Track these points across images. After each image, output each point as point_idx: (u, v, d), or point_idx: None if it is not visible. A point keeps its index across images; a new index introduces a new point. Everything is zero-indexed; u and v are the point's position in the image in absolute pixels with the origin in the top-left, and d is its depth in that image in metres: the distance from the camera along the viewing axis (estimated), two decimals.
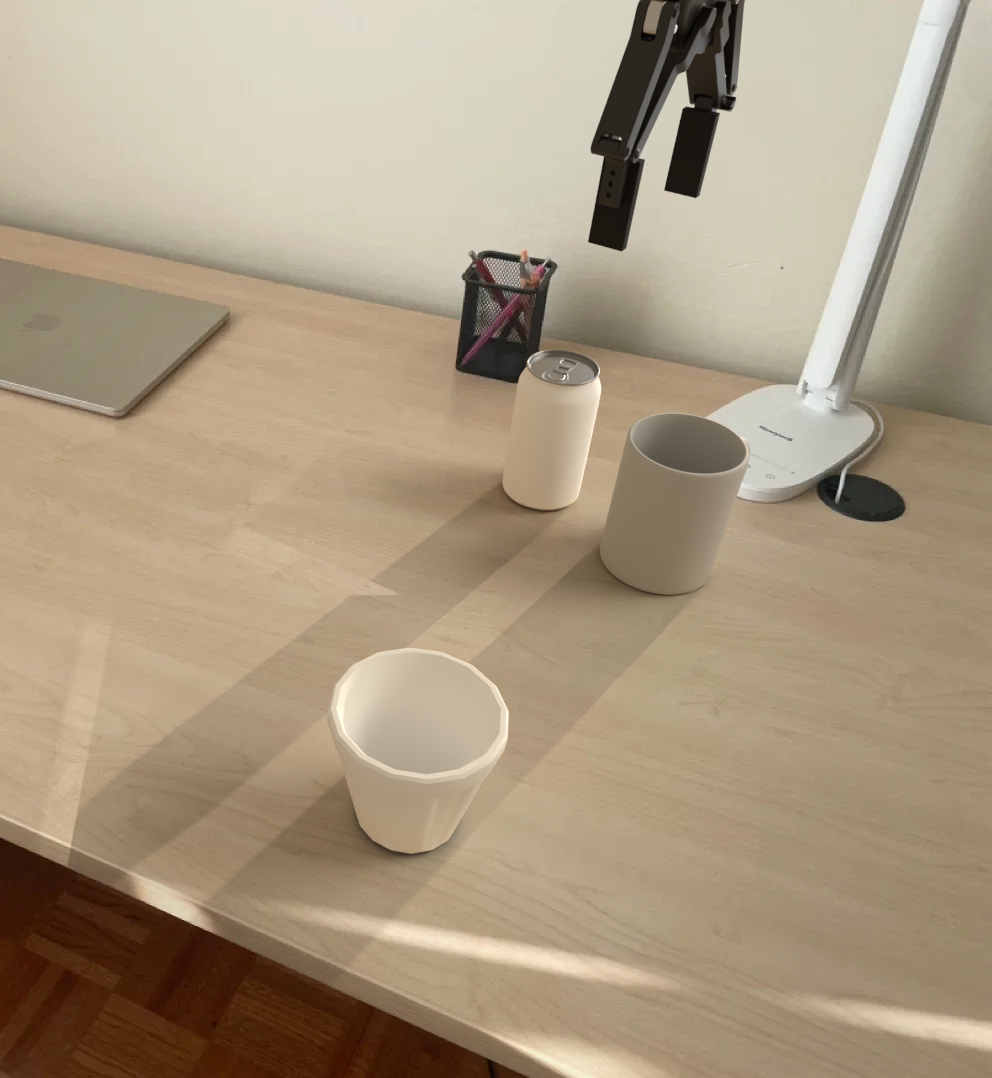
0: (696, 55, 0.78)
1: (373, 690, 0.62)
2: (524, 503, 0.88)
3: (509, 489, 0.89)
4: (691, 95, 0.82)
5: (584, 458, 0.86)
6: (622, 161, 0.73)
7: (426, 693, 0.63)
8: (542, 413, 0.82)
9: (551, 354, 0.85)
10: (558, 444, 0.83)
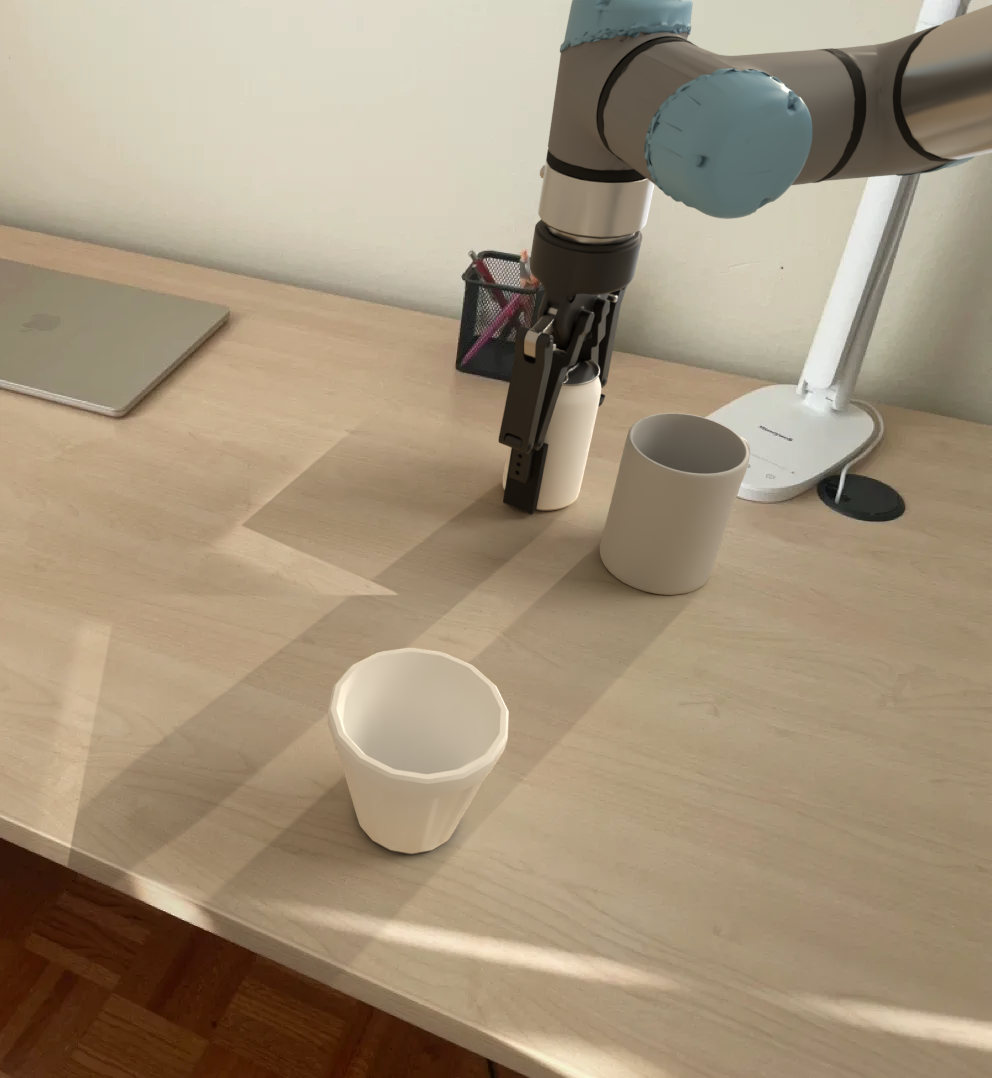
0: None
1: (373, 690, 0.62)
2: None
3: None
4: None
5: (584, 458, 0.86)
6: None
7: (426, 693, 0.63)
8: None
9: None
10: (558, 444, 0.83)
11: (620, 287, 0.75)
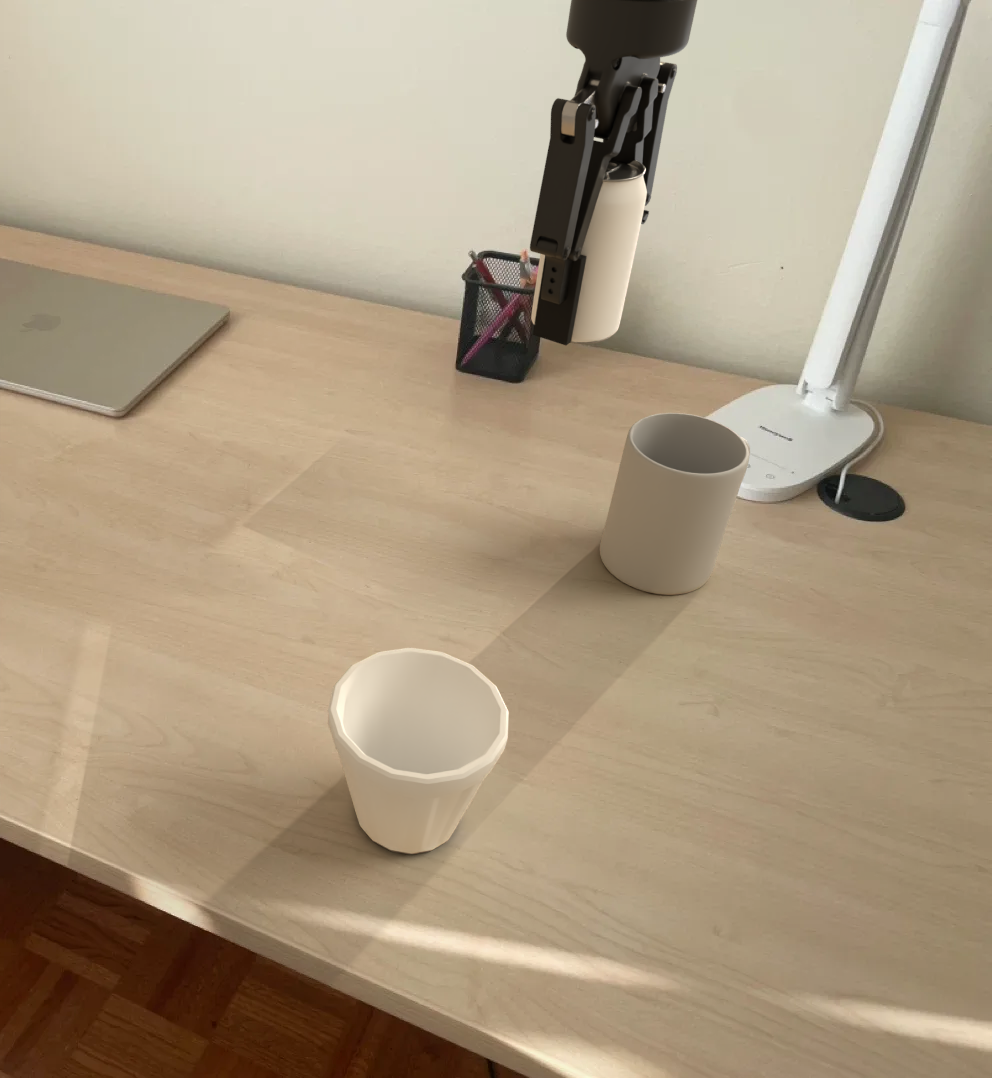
0: None
1: (373, 690, 0.62)
2: None
3: None
4: None
5: (626, 278, 0.75)
6: (562, 259, 0.71)
7: (426, 693, 0.63)
8: None
9: None
10: (597, 257, 0.73)
11: (673, 49, 0.65)
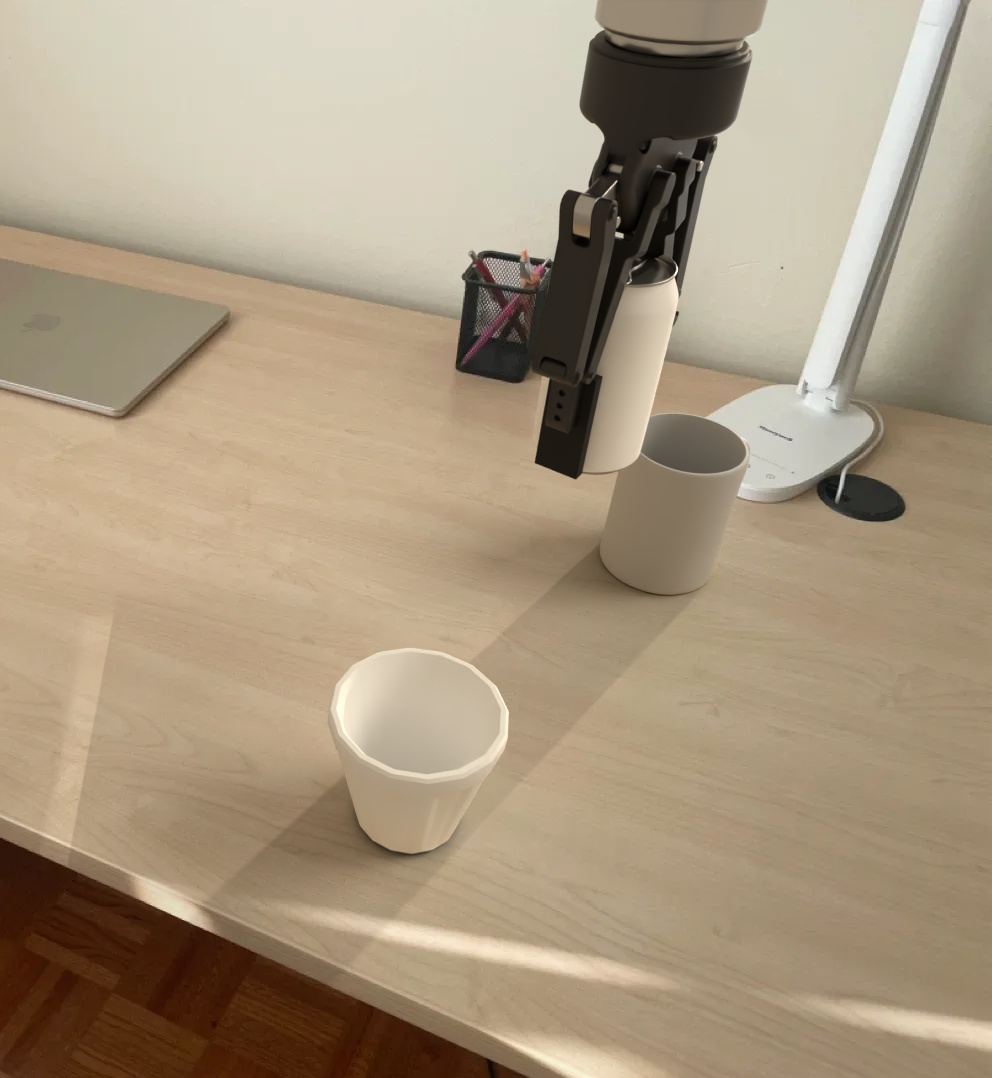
0: None
1: (373, 690, 0.62)
2: None
3: None
4: None
5: (651, 398, 0.60)
6: None
7: (426, 693, 0.63)
8: None
9: None
10: (616, 376, 0.58)
11: (719, 129, 0.50)
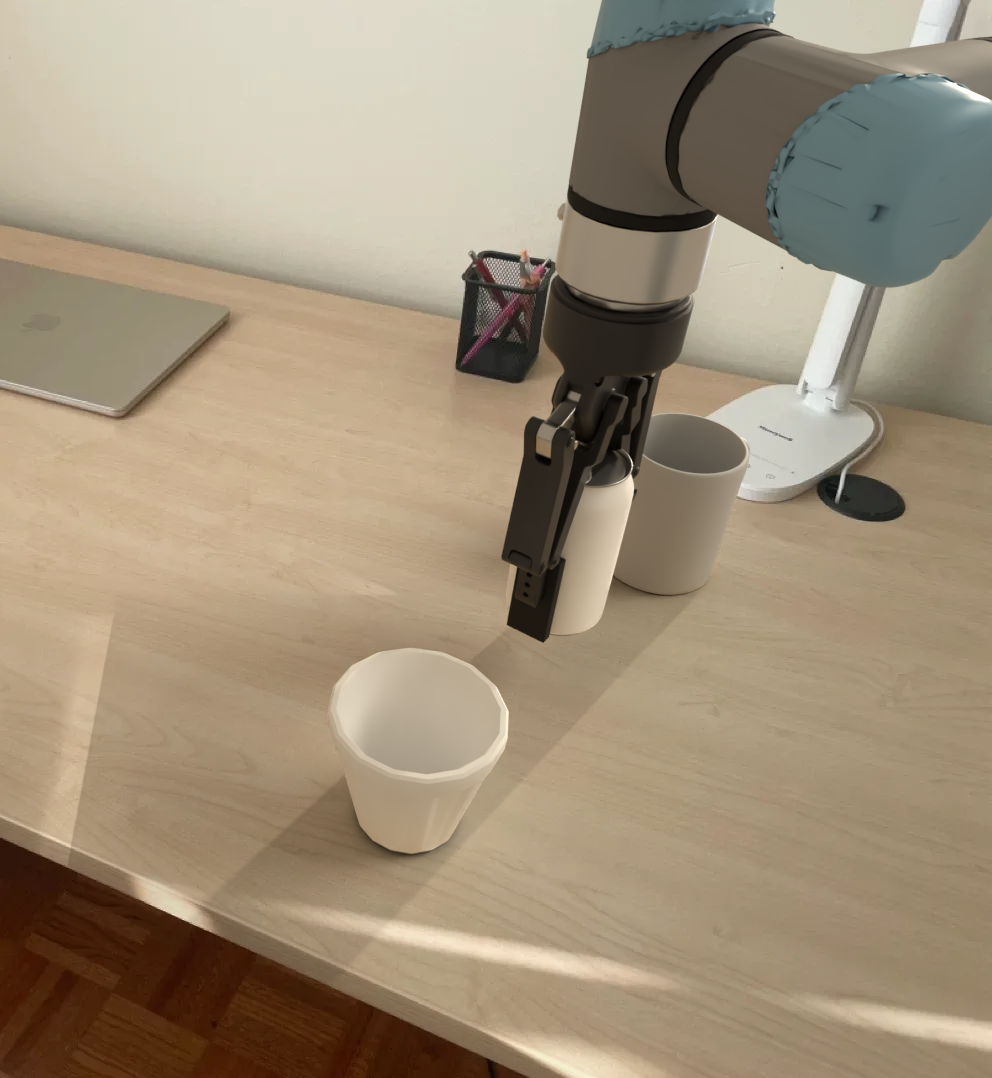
0: None
1: (373, 690, 0.62)
2: None
3: None
4: None
5: (611, 573, 0.67)
6: None
7: (426, 693, 0.63)
8: None
9: None
10: (578, 559, 0.64)
11: (665, 367, 0.56)
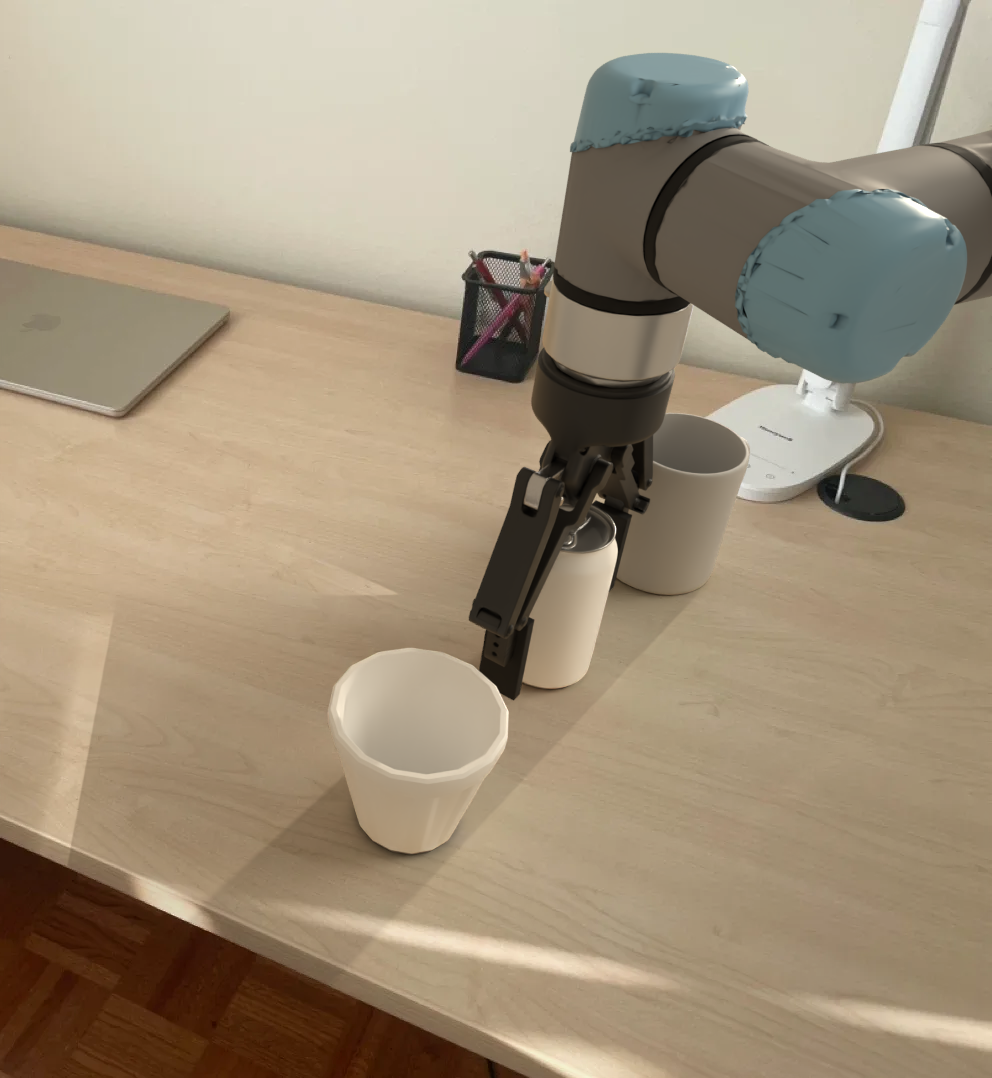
0: None
1: (373, 690, 0.62)
2: (523, 680, 0.72)
3: None
4: (600, 493, 0.72)
5: (596, 630, 0.70)
6: None
7: (426, 693, 0.63)
8: (544, 584, 0.66)
9: None
10: (564, 619, 0.68)
11: (647, 437, 0.59)
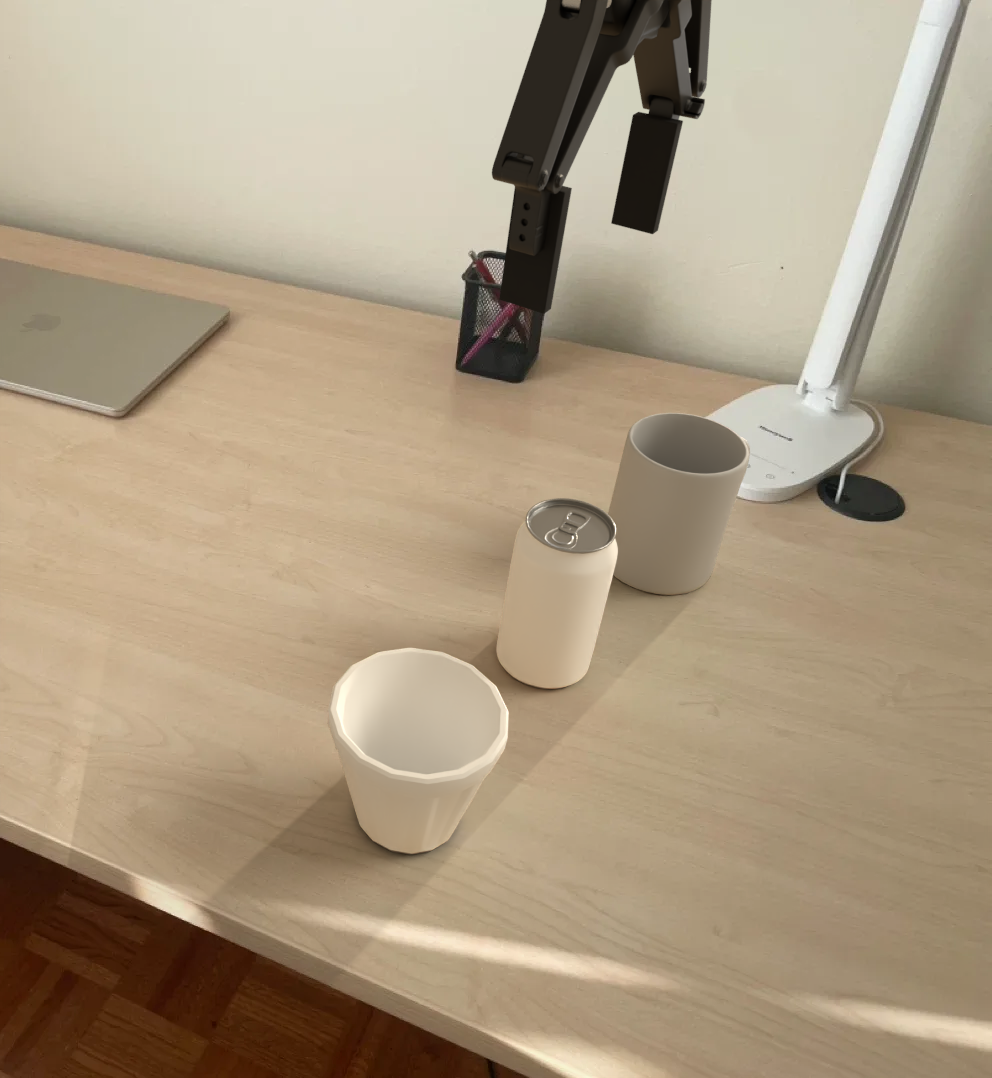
0: (647, 41, 0.56)
1: (373, 690, 0.62)
2: (523, 680, 0.72)
3: (504, 661, 0.73)
4: (644, 97, 0.61)
5: (596, 630, 0.70)
6: (538, 191, 0.51)
7: (426, 693, 0.63)
8: (544, 584, 0.66)
9: (556, 504, 0.69)
10: (564, 619, 0.68)
11: None
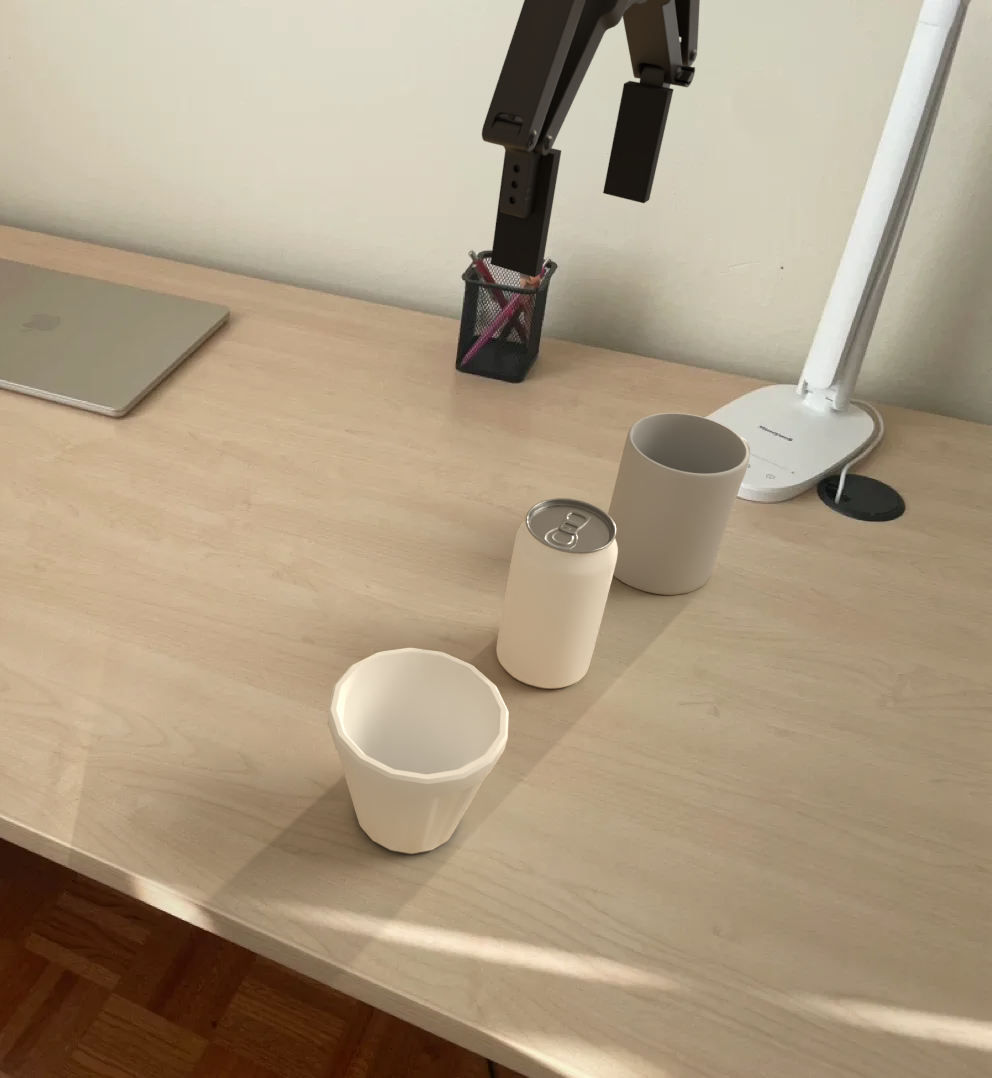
0: (637, 8, 0.57)
1: (373, 690, 0.62)
2: (523, 680, 0.72)
3: (504, 661, 0.73)
4: (635, 65, 0.61)
5: (596, 630, 0.70)
6: (527, 152, 0.52)
7: (426, 693, 0.63)
8: (544, 584, 0.66)
9: (556, 504, 0.69)
10: (564, 619, 0.68)
11: None
